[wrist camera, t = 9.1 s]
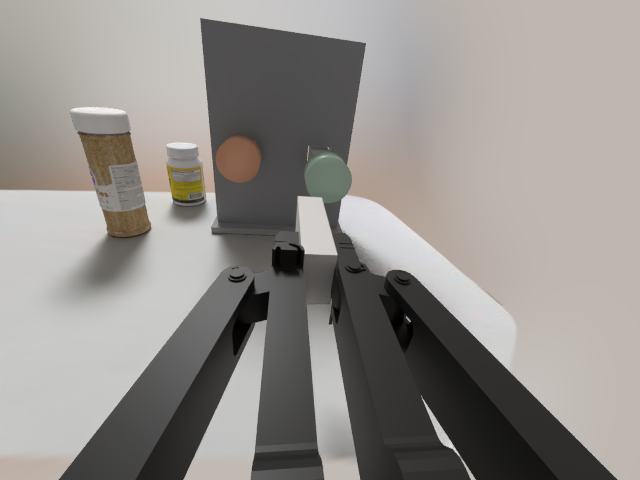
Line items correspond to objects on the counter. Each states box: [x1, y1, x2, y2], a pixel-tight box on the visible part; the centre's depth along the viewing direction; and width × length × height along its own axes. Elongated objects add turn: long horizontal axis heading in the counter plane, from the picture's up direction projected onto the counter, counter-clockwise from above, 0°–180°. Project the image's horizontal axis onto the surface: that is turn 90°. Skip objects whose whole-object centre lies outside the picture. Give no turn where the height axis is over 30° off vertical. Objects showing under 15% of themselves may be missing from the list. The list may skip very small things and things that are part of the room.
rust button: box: [216, 135, 262, 183], centre depth 33 cm, size 4×12×4 cm, turn 6°
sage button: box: [304, 146, 352, 203], centre depth 31 cm, size 4×12×4 cm, turn 6°
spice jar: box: [70, 107, 151, 237], centre depth 30 cm, size 5×5×13 cm
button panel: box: [201, 18, 366, 235], centre depth 34 cm, size 17×7×22 cm, turn 96°
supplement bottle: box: [166, 142, 206, 206], centre depth 41 cm, size 5×5×8 cm
